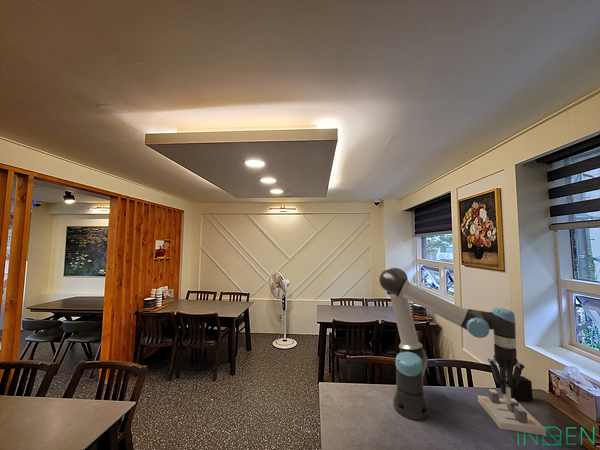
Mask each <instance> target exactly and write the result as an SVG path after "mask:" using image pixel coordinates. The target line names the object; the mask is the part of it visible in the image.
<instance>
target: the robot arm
mask: <svg viewBox="0 0 600 450" xmlns="http://www.w3.org/2000/svg"><path fill="white" fill-rule="evenodd" d="M407 275H408V274H407V273H406V272H405V271H404V270H403V269H401V268H398V267H391V268H388V269H386V270H383V271H382V272H381V274H380V275H379V279H378V280H379V284H380V286H381V287H382V289H383V290H385V292H386V294H387V296H389V297H390V300H391V305H392V309H393V313H394V317H395V318H394V319H395V321H396V326H397V331H398V335H399V339H400V343H399V345H398V348H399V349H398V350H399V352H398V353H397V354H396V357H395V375H396V388H395V393H394V396H393V399H392V403H393V404H392V406H393V408H394V410H395V411H396V412H397V413H398V414H400V415H401V416H402V417H405V418H407V419H410V420H414V421H421V420H425V419H427V418H428V417H429V414H430V413H429V412H430V411H429V406H428V403H427V400H426V397H425V394H424V375H425V372H426V369H427V367H428V362H429V359H428V356H427V353H426V351H425V350H424V346H423V343H421V342H420V340H419V339H418V335H417V331H416V326H415V322H414V319H413V314H412V310H411V307H410V302H412V303H413V304H416V305H418V306H419V307H422V308H424V309H426V310H427V311H428V312H432V313H433V314H435V315H436V316H437V315H438V316H439V317H440V318H443V319H445V320H447V321H449V322H450V323H452V324H454V325H456V326H459V327H460V328H462V329H464V330H466V331H468V333H469V334H470V335H471V336H473V337H475V338H477V339H483V338H485V337H488V336H489V333H490V330H491V331H493V343H494V345H493V350H494V351H493V352H494V355H493V358H491V359H490V358H488V359H487V362H488V363H489V364H490V367H491V370H492V375H493V378H494V381H495V383H497V385H500V392H501V394H502V396H503V397H502V399H503V400H504V401H505V402H506V403H507V404H511V395H513V389H514V387H518V385H519V381H520V376H522V372H523V370H524V368H525V365H524V364H523V363H521V362H519V361H518V358H517V357H518V356H517V355H518V354H517V336H516V335H517V333H516V331H517V329H516V328H517V327H516V324H517V322H516V318H515V317H516V316H515V312H514V311H512V310H510V309H506V308H502V307H501V308H499V307H495V308H493V309H492V311H485V310H477V309H471V308H462V307H460V306H458V305H455V304H453V303H452V302H450V301H448V300H445V299H444V298H441V297H439V296H437V295H435V294H433V293H431V292H429V291H427V290H424V289H423V288H421V287H418V286H416V285H414V284H412V283H410V281H409V280H408V279H409V278H408V276H407ZM497 364H498V367H497ZM498 369H499V370H498ZM506 380H507V385H506Z"/></svg>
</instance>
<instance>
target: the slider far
mask: <svg viewBox="0 0 600 450" xmlns="http://www.w3.org/2000/svg"><path fill="white" fill-rule="evenodd" d="M487 395H488V396H487V397H489V399H490V401H491V402H493V403H499V398H500V393H498V391H497V390H496V389H491V388H489V389H488V390H487Z"/></svg>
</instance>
